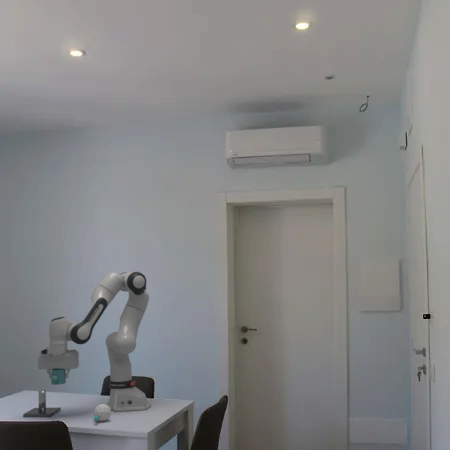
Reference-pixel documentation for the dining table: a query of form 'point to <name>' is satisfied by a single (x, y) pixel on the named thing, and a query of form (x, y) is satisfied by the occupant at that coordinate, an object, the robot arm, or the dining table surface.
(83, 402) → the dining table surface
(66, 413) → the dining table surface
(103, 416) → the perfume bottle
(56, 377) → the sleeve
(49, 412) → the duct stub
